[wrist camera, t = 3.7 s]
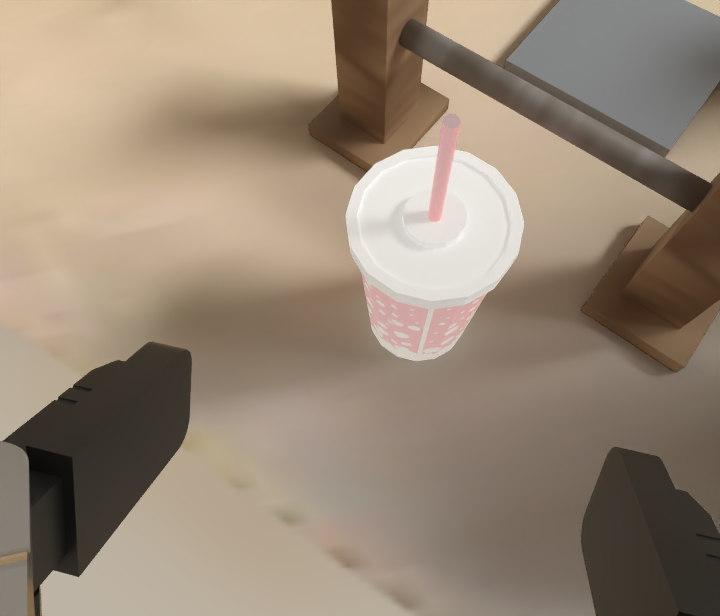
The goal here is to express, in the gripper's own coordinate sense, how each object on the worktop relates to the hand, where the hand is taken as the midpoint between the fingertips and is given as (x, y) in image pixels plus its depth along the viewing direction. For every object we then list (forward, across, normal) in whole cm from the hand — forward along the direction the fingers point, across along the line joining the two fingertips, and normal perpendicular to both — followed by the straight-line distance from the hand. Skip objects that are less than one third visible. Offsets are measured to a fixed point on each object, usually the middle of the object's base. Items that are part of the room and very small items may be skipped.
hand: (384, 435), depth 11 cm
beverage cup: (+17, 0, +5) cm, 18 cm away
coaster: (+30, -8, -8) cm, 32 cm away
